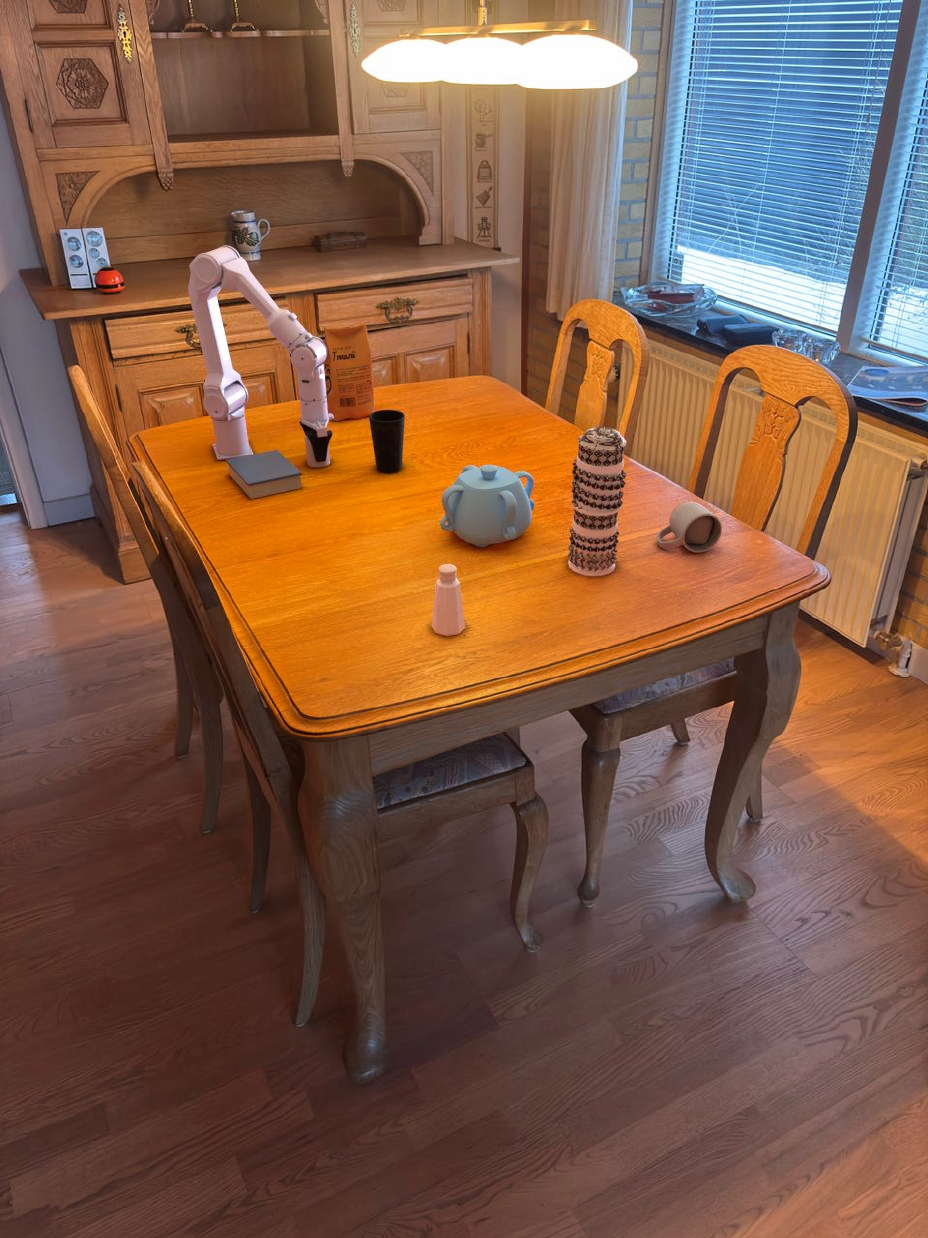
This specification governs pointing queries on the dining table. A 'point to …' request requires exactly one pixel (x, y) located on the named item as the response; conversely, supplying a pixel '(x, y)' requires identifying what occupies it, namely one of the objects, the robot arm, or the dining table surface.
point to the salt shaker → (447, 603)
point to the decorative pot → (488, 505)
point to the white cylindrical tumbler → (311, 458)
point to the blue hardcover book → (264, 474)
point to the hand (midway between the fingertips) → (318, 456)
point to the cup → (387, 439)
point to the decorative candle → (596, 501)
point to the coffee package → (348, 372)
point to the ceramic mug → (691, 528)
